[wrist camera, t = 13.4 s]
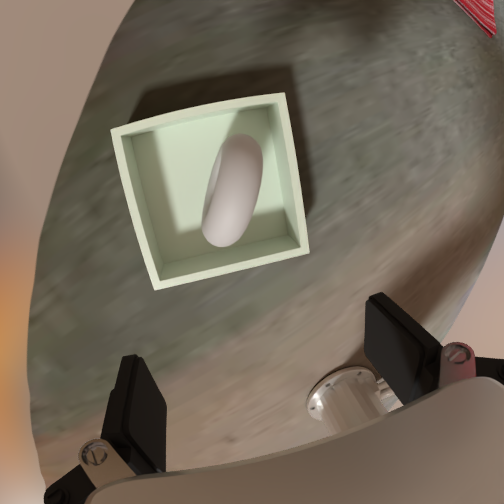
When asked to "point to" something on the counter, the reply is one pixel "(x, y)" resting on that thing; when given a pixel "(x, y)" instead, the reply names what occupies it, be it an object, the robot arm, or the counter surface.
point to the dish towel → (480, 14)
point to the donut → (232, 190)
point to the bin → (196, 182)
